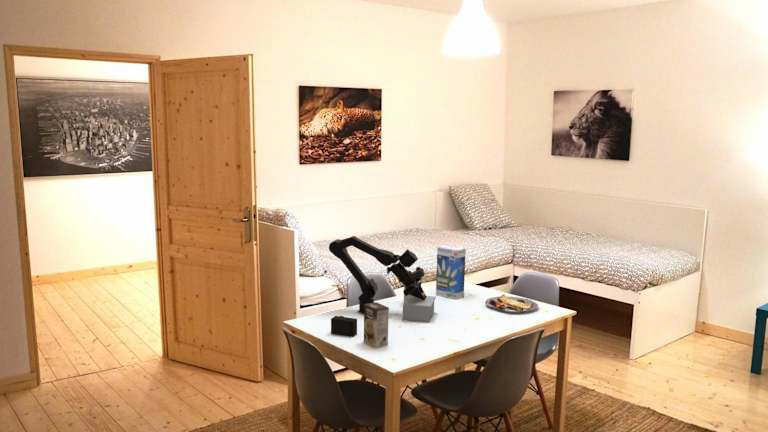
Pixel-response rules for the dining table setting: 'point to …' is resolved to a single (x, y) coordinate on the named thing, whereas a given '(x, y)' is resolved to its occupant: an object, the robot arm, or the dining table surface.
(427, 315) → the carton
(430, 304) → the lid
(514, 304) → the food plate
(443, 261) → the string lights box
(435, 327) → the dining table surface
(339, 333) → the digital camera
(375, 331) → the coffee box
